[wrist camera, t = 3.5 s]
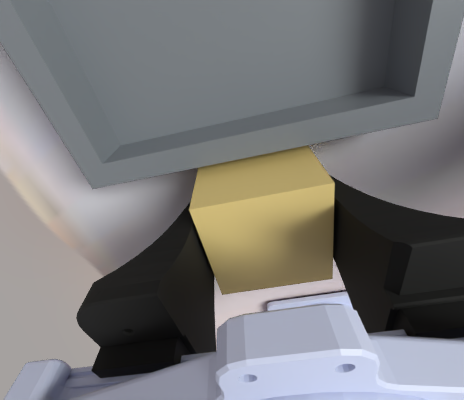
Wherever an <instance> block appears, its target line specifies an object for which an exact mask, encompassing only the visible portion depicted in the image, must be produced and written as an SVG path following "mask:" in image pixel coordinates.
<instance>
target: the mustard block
mask: <svg viewBox="0 0 464 400" xmlns="http://www.w3.org/2000/svg"><path fill="white" fill-rule="evenodd" d="M334 192H335V183H334V181H333V180H332V178H331V177H330V176H329V174H328V173H327V171H326V170H325V169H324V167H323V166H322V165H321V163H320V162H319V160H318V159H317V158H316V156H315V155H314V153H313V152H312V151H311V149H310V148H309V146H308V145H306V146H301V147H297V148H292V149H287V150H282V151H277V152H272V153H267V154H262V155H257V156H252V157H248V158H243V159H238V160H233V161H228V162H223V163H218V164H213V165H208V166H203V167H199V168H198V172H197V176H196V181H195V185H194V190H193V194H192V199H191V203H190V208H189V211H190V214H191V216H192V219H193V221H194V224H195V227H196V229H197V232H198V234H199V237H200V239H201V242H202V244H203V247H204V249H205V252H206V255H207V257H208V260H209V262H210V265H211V267H212V270H213V272H214V275H215V278H216V280H217V283H218V285H219V288H220V290H221V293H222V295H223V294H230V293H237V292H244V291H251V290H258V289H265V288H272V287H279V286H286V285H293V284H300V283H306V282H313V281H320V280H327V279H332V275H333V234H334Z"/></svg>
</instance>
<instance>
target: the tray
mask: <svg viewBox="0 0 464 400" xmlns="http://www.w3.org/2000/svg"><path fill="white" fill-rule="evenodd" d="M463 17H464V0H0V43H1V44H2V46H3V47H4V49H5V51H6V52H7V54H8V55H9V57H10V59H11V60H12V62H13V63H14V65H15V66H16V68H17V70H18V71H19V73H20V74H21V76H22V78H23V79H24V81H25V82H26V84H27V85H28V87H29V89H30V90H31V92H32V93H33V95H34V97H35V98H36V100H37V101H38V103H39V105H40V106H41V108H42V109H43V111H44V112H45V114H46V116H47V117H48V119H49V120H50V122H51V124H52V125H53V127H54V128H55V130H56V131H57V133H58V135H59V136H60V138H61V139H62V141H63V143H64V144H65V146H66V147H67V149H68V151H69V152H70V154H71V155H72V157H73V158H74V160H75V162H76V163H77V165H78V166H79V168H80V170H81V171H82V173H83V174H84V176H85V177H86V179H87V181H88V182H89V184H90V185H91V187H92V189H96V188H101V187H105V186H110V185H115V184H120V183H125V182H130V181H135V180H140V179H145V178H150V177H154V176H159V175H164V174H169V173H174V172H179V171H184V170H189V169H194V168H199V167H203V166H208V165H213V164H218V163H223V162H228V161H233V160H238V159H243V158H248V157H252V156H257V155H262V154H267V153H272V152H277V151H282V150H287V149H292V148H297V147H301V146H306V145H311V144H316V143H321V142H326V141H331V140H336V139H341V138H346V137H351V136H355V135H360V134H365V133H370V132H375V131H380V130H385V129H390V128H395V127H400V126H404V125H409V124H414V123H419V122H424V121H429V120H434V119H438V115H439V111H440V107H441V103H442V99H443V95H444V92H445V88H446V84H447V80H448V76H449V72H450V68H451V64H452V60H453V56H454V52H455V48H456V44H457V41H458V37H459V33H460V29H461V25H462V21H463Z"/></svg>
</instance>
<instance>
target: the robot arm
mask: <svg viewBox="0 0 464 400" xmlns="http://www.w3.org/2000/svg"><path fill="white" fill-rule="evenodd" d="M329 176H330V175H329ZM330 177H331V178H332V180H333V181H334V183H335V192H334V234H333V258H334V260H335V262H336V265H337V267H338V270H339V272H340V275H341V277H342V280H343V283H344V285H345V288H346V292H338V293H331V294H324V295H317V296H309V297H302V298H295V299H288V300H281V301H273V302H270V303H268V304H267V311H264V312H256V313H249V314H243V315H239V316H236V317H233V318H229V319H228V320H227V321H226V322H225V323H224V324H222V325H221V326H220V327H219V328H218V329H217V351H216V339H215V312H214V272H213V270H212V267H211V265H210V262H209V260H208V257H207V255H206V252H205V249H204V247H203V244H202V242H201V239H200V237H199V234H198V232H197V229H196V227H195V224H194V221H193V219H192V216H191V214H190V211H189V208H190V203H191V201H190V203H189V204H188V206H187V207H186V208H185V209H184V211H183V212H182V213H181V215H180V216H179V217H178V218H177V219H176V220H175V222H174V223H173V224H172V225H171V226H170V227H169V228H168V229H167V230H166V231H165V232H164V233H163V234H162V235H161V236H160V237H159V238H158V239H157V240H156V241H155V242H154V243H153V244H151V245H150V246H149V247H148V248H146V249H145V250H144V251H143V252H141V253H140V254H139V255H138V256H136V257H135V258H133V259H132V260H130V261H129V262H127V263H126V264H124V265H123V266H121V267H120V268H118V269H117V270H115V271H113V272H111V273H110V274H108V275H106V276H105V277H103V278H101V279H99V280H97V281H96V282H94V283H93V285H92V287H91V288H90V290H89V292H88V294H87V296H86V298H85V300H84V302H83V303H82V305H81V307H80V309H79V311H78V313H77V322H78V324H79V326H80V327H81V328H82V330H83V331H84V332H85V333H86V334H87V335H88V336H89V337H91V338H92V339H93V340H94V341H95V342H96V343H97V344H98V345H99V346H100V347H101V348H100V350H99V353H98V355H97V358H96V360H95V363H94V365H93V366H91V367H82V368H74V369H71V367H70V366H69V365H68V364H67V363H66V362H64V361H62V360H58V359H50V360H42V361H34V362H28V363H26V364H25V365H24V367H23V369H22V370H21V372H20V373H19V375H18V377H17V378H16V380H15V382H14V383H13V385H12V386H11V388H10V390H9V391H8V393H7V395H6V396H5V398H4V400H464V218H457V217H449V216H443V215H438V214H433V213H428V212H423V211H418V210H414V209H410V208H406V207H403V206H399V205H395V204H392V203H389V202H386V201H383V200H380V199H378V198H375V197H372V196H370V195H367V194H365V193H363V192H361V191H358V190H356V189H354V188H352V187H350V186H348V185H346V184H344V183H342V182H341V181H339V180H337V179H335V178H333V177H332V176H330Z"/></svg>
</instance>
